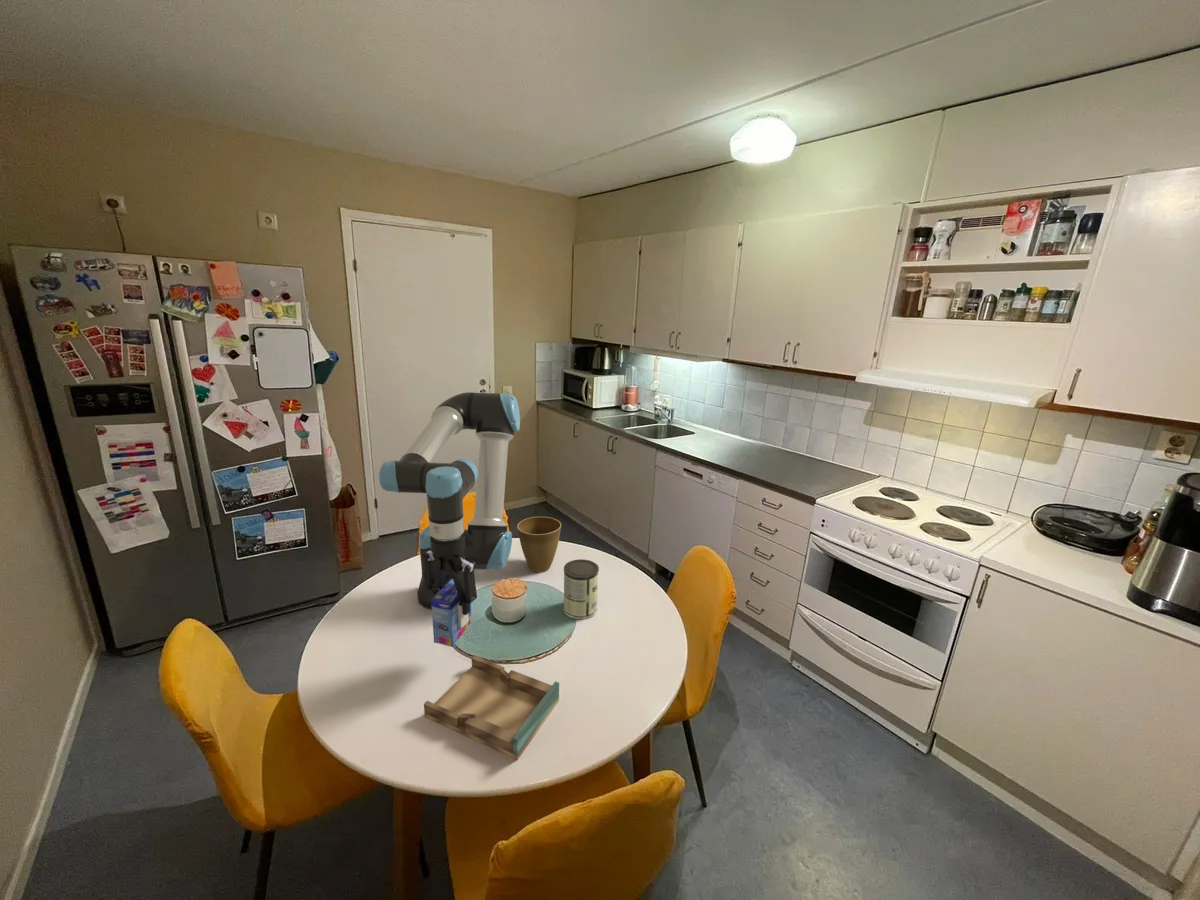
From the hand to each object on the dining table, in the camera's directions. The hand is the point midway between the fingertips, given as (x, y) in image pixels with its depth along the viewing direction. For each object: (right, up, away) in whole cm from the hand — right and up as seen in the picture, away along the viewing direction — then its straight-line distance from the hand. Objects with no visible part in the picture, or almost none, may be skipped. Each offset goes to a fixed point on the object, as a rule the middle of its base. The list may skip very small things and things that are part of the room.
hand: (452, 619), depth 117 cm
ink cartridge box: (0, -4, +1) cm, 4 cm away
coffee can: (+30, -7, +28) cm, 42 cm away
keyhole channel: (+12, -17, -9) cm, 22 cm away
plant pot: (+14, 0, +52) cm, 54 cm away
